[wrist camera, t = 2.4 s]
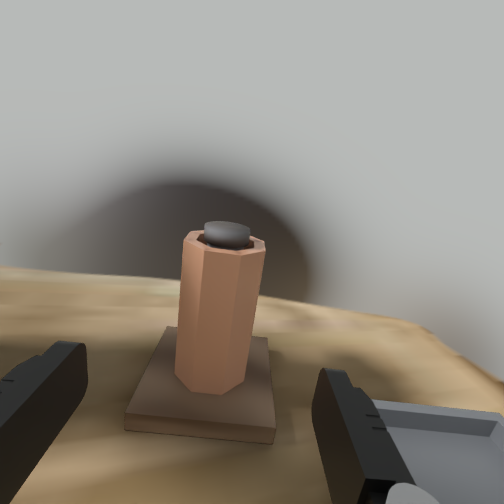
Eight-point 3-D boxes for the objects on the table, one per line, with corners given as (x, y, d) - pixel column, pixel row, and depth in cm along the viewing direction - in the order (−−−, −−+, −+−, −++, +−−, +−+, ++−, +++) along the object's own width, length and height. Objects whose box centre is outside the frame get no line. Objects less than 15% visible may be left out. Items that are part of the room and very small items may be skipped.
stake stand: (272, 444, 19) (313, 261, 15) (124, 429, 19) (125, 235, 15) (264, 350, 29) (288, 221, 25) (166, 339, 28) (173, 205, 24)
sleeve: (243, 397, 21) (266, 258, 18) (168, 389, 21) (178, 247, 17) (244, 339, 28) (262, 231, 24) (188, 333, 27) (197, 222, 24)
